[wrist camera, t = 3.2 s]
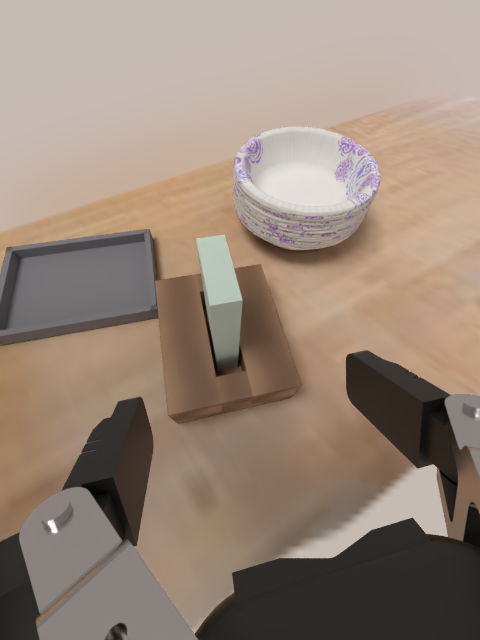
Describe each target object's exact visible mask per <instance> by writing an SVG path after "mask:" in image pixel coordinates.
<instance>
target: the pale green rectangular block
mask: <svg viewBox="0 0 480 640" xmlns="http://www.w3.org/2000/svg"><path fill="white" fill-rule="evenodd" d="M196 242H197V248H198V255H199V262H200V269H201V276H202V282H203V289H204V296H205V303H206V310H207V316H208V323H209V328H210V333H211V338H212V344H213V349H214V354H215V359H216V364H217V369H218V371H220V370H225V369H229V368H234V367H238V354H239V341H240V328H241V315H242V302H243V300H242V296H241V292H240V289H239V285H238V282H237V278H236V274H235V271H234V267H233V263H232V260H231V256H230V252H229V249H228V245H227V242H226V238H225V235H218V236H211V237H204V238H196Z"/></svg>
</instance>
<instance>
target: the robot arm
mask: <svg viewBox="0 0 480 640" xmlns="http://www.w3.org/2000/svg"><path fill="white" fill-rule="evenodd" d="M346 389H347V394H348V397H349V399H350V401H351V403H352V404H353V405H354V406H355V407H356V408H357V409H358V410H359V411H360V412H361V413H362V414H363V415H364V416H365V417H366V418H367V419H368V420H369V421H370V422H371V423H372V424H373V425H374V426H375V427H376V428H377V429H378V430H379V431H380V432H381V433H382V434H383V435H384V436H385V437H386V438H387V439H388V440H389V441H390V442H391V443H392V444H393V445H394V446H395V447H396V448H397V449H398V450H400V451H401V452H402V453H403V454H404V455H405V456H406V457H407V458H408V459H409V460H410V461H411V462H412V463H413V464H414V465H415V466H416V467H417V468H421V467H425V466H428V465H432V464H434V465H435V466H436V467H437V481H438V486H439V491H440V496H441V502H442V507H443V512H444V517H445V522H446V527H447V533H448V537H444V536H439V535H431V534H425V532H424V531H423V530H422V529H421V527H420V526H419V525H418V524H417V522H416V521H415V520H414V519H413V518H410V519H407V520H404V521H400V522H397V523H394V524H391V525H387V526H384V527H381V528H377V529H374V530H371V531H370V532H368V533H367V534H366V535H364V536H363V537H362V538H360V539H359V540H358V541H356V542H355V543H354V544H352V545H351V546H350V547H348V548H347V549H346V550H344V551H343V552H341V553H340V554H339V555H337V556H336V557H333V558H328V559H326V558H325V559H320V558H318V559H316V558H313V559H312V558H311V559H310V558H279V559H276V560H273V561H269V562H266V563H263V564H260V565H256V566H253V567H250V568H247V569H243V570H240V571H237V572H234V573H232V576H233V584H234V591H235V592H234V593H233V594H232V595H230V596H229V597H227V598H226V599H225V600H224V601H223V602H221V603H220V604H219V605H218V606H217V607H216V608H215V609H214V610H213V611H212V612H211V613H210V615H209V616H208V617H207V618H206V619H205V620H204V622H203V623H202V624H201V626H200V627H199V629H198V630H197V632H196V633H195V634H194V633H193V631H192V630H191V629H190V627H189V626H188V624H187V623H186V621H185V620H184V619H183V617H182V616H181V614H180V613H179V611H178V610H177V608H176V607H175V606H174V604H173V603H172V601H171V600H170V598H169V597H168V596H167V594H166V593H165V591H164V590H163V588H162V587H161V585H160V584H159V583H158V581H157V580H156V578H155V577H154V575H153V574H152V573H151V571H150V570H149V568H148V567H147V565H146V564H145V562H144V561H143V560H142V558H141V557H140V555H139V554H138V552H137V551H136V550H135V548H134V547H133V546H137V540H138V535H139V529H140V523H141V517H142V512H143V506H144V500H145V494H146V489H147V483H148V477H149V471H150V466H151V460H152V454H153V435H152V431H151V427H150V423H149V420H148V416H147V412H146V409H145V405H144V402H143V399H142V398H141V397H137V398H132V399H128V400H123V401H119V402H118V403H117V406H116V408H115V410H114V412H113V414H112V417H110V418H106V419H103V420H102V421H101V422H100V423H99V424H98V425H97V426H96V427H95V428H94V429H93V431H92V433H91V434H90V436H89V438H88V440H87V444H85V446H84V448H83V450H82V454H80V456H79V458H78V460H77V462H76V464H75V466H74V467H73V469H72V471H71V473H70V475H69V477H68V479H67V481H66V483H65V485H64V487H63V489H62V491H60V492H58V493H56V494H54V495H53V496H51V497H49V498H48V499H47V500H45V501H44V502H42V503H41V504H40V505H39V506H38V507H37V508H36V509H35V510H34V511H33V512H32V513H31V514H30V515H29V516H28V518H27V519H26V520H25V522H24V524H23V526H22V528H21V530H20V532H19V533H17V534H15V535H13V536H11V537H9V538H7V539H5V540H3V541H1V542H0V640H480V396H475V395H469V394H455V395H450V394H448V393H446V392H445V391H443V390H441V389H440V388H438V387H436V386H434V385H433V384H431V383H429V382H427V381H426V380H424V379H422V378H421V377H420V378H419V377H418V376H417V375H415V374H414V373H412V372H409V370H407V369H405V368H403V367H402V366H400V365H398V364H396V363H393V362H389V361H386V360H383V359H381V358H380V357H378V356H376V355H375V354H373V353H371V352H370V351H361V352H356V353H352V354H348V355H347V357H346Z"/></svg>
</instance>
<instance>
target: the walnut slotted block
mask: <svg viewBox="0 0 480 640" xmlns="http://www.w3.org/2000/svg"><path fill="white" fill-rule="evenodd" d="M234 271H235V274H236V278H237V282H238V285H239V289H240V292H241V296H242V300H243V302H242V315H241V328H240V341H239V354H238V367H234V368H229V369H225V370H220V371H218V369H217V364H216V359H215V354H214V349H213V344H212V338H211V333H210V328H209V323H208V316H207V310H206V303H205V296H204V289H203V282H202V276H201V274H195V275H189V276H183V277H176V278H170V279H164V280H157V281H155V287H156V297H157V307H158V317H159V328H160V338H161V348H162V359H163V369H164V379H165V389H166V400H167V410H168V416H169V417H171V418H172V419H173V420H174V421H175V422H176V423H182V422H186V421H191V420H195V419H200V418H204V417H208V416H213V415H217V414H221V413H226V412H230V411H234V410H239V409H243V408H247V407H252V406H256V405H260V404H265V403H269V402H273V401H278V400H282V399H286V398H291V397H292V396H293V395H294V393H295V392H296V391H297V390H298V389H299V388H300V387H301V382H300V379H299V376H298V373H297V370H296V367H295V364H294V361H293V358H292V355H291V352H290V350H289V347H288V344H287V341H286V338H285V335H284V332H283V329H282V326H281V323H280V320H279V317H278V314H277V311H276V308H275V305H274V302H273V299H272V296H271V293H270V290H269V287H268V284H267V281H266V278H265V275H264V272H263V270H262V267H261V264H259V265H253V266H246V267H240V268H234Z"/></svg>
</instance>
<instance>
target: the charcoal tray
mask: <svg viewBox="0 0 480 640" xmlns="http://www.w3.org/2000/svg"><path fill="white" fill-rule="evenodd" d="M155 281H157V277H156V267H155V257H154V247H153V239H152V236H151V233H150V230H149V229H144V230H136V231H129V232H121V233H114V234H106V235H98V236H91V237H83V238H76V239H68V240H60V241H53V242H45V243H38V244H30V245H22V246H15V247H7V249H6V253H5V257H4V261H3V266H2V270H1V274H0V346H1V345H6V344H12V343H18V342H23V341H29V340H35V339H40V338H46V337H52V336H58V335H63V334H69V333H75V332H80V331H86V330H92V329H97V328H103V327H109V326H114V325H120V324H126V323H131V322H137V321H143V320H149V319H154V318H159V317H158V307H157V297H156V287H155Z"/></svg>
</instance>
